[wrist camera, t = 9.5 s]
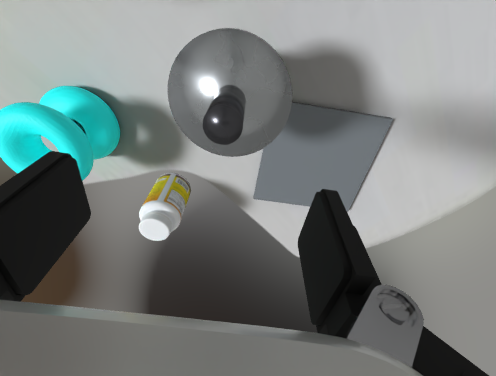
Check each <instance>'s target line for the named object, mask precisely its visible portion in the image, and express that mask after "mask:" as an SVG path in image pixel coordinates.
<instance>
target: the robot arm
mask: <svg viewBox="0 0 496 376" xmlns="http://www.w3.org/2000/svg"><path fill="white" fill-rule="evenodd" d="M90 215H91V211H90V207H89V204H88V200H87V196H86V193H85V189H84V186H83V182H82V179H81V175H80V171H79V168H78V164H77V161H76V159H75V158H72V156H71V155H70V154H68V153H62V152H55V151H50V152H48V153H47V154H45V155H44V156H42V157H41V158H40V159H38V160H37V161H35V162H34V163H32V164H31V165H29V166H28V167H27V168H25V169H24V170H22V171H21V172H19V173H18V174H17V175H15V176H14V177H12V178H11V179H9V180H8V181H7V182H5V183H4V184H2V185H1V186H0V376H489V375H487V374H486V373H485V372H483V371H482V370H481V369H479V368H478V367H477V366H475V365H474V364H473V363H471V362H470V361H469V360H467V359H466V358H465V357H463V356H462V355H461V354H459V353H458V352H457V351H456V350H454V349H453V348H452V347H450V346H449V345H448V344H446V343H445V342H444V341H442V340H441V339H440V338H438V337H437V336H436V335H434V334H433V333H432V332H431V331H429V330H428V329H426V328H425V327H424V326H423V323H424V322H423V321H424V319H423V315H422V312H421V310H420V309H419V307H418V305H417V304H416V303H415V302H414V301H413V299H412V298H411V297H410V296H408V295H407V294H406V293H404V292H403V291H401V290H400V289H398V288H396V287H393V286H390V285H382V284H381V282H380V280H379V278H378V276H377V273H376V271H375V269H374V267H373V265H372V263H371V260H370V258H369V256H368V254H367V252H366V249H365V247H364V245H363V242H362V240H361V238H360V236H359V234H358V231H357V229H356V228H355V227H354V226H353V225H352V222H351V220H350V218H349V216H348V213H347V211H346V209H345V207H344V204H343V202H342V200H341V198H340V195H339V193H338V192H337V191H335V190H328V189H322V190H321V191H320V192H316V194H315V196H314V199H313V201H312V204H311V207H310V209H309V212H308V214H307V217H306V220H305V222H304V225H303V228H302V230H301V233H300V236H299V238H298V249H299V255H300V260H301V266H302V272H303V278H304V283H305V289H306V295H307V301H308V306H309V311H310V317H311V322H312V324H313V325H316V327H317V332H318V333H313V332H304V331H296V330H288V329H280V328H272V327H264V326H255V325H245V324H236V323H226V322H217V321H208V320H198V319H189V318H179V317H170V316H159V315H150V314H140V313H130V312H120V311H111V310H100V309H91V308H81V307H70V306H60V305H50V304H38V303H29V302H21V300H22V299H23V298H24V296H25V295H28V294H30V293H32V291H33V290H34V289H35V288H36V287H37V285H38V284H39V283H40V282H41V280H42V279H43V278H44V276H45V275H46V274H47V273H48V271H49V270H50V269H51V268H52V266H53V265H54V264H55V262H56V261H57V260H58V259H59V257H60V256H61V255H62V254H63V252H64V251H65V250H66V248H67V247H68V246H69V245H70V243H71V242H72V241H73V240H74V238H75V237H76V236H77V234H78V233H79V232H80V230H81V229H82V228H83V227H84V226H85V224H86V223H87V222H88V220H89V219H90Z"/></svg>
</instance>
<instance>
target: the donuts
mask: <svg viewBox="0 0 496 376" xmlns="http://www.w3.org/2000/svg"><path fill="white" fill-rule="evenodd" d="M71 119H74V120H76V121H77V122H79V123H80V124H81V125H82V126H83V128H84V129H85V132H86V135H85V133H84V132H83V131H82V129H81V128H80V127H79V126H78V125H77V124H76V123H75V122H74V121H73V120H71ZM41 135H42V136H44V137H46V138H47V139H49V140H50V141H51V142H52V143H53V144H54V145H55V146H56V147H57V149H58V150H59V152H62V153H68V154H70V155H71V156H72V158H75V159H76V161H77V164H78V168H79V171H80V175H81V179H82V181H83V180H84V179H85V178H86V177H87V176H88V175H89V173H90V171H91V169H92V166H93V160H94V159H100V158H103V157H105V156H107V155H109V154H111V153H112V152H113V151H114V150H115V148H116V147H117V145H118V142H119V139H120V128H119V124H118V121H117V118H116V116H115V114H114V113H113V111H112V110H111V108H110V107H109V106H108V105H107V104H106V103H105V102H104V101H103V100H102V99H101V98H99V97H98V96H97V95H95V94H93V93H91V92H89V91H87V90H85V89H82V88H79V87H74V86H60V87H56V88H53V89H51V90H50V91H48V92H47V93H46V94H45V95H44V96H43V97H42V98H41V100H40V103H39V104H37V103H30V102H22V103H15V104H11V105H8V106H6V107H4V108H2V109H1V110H0V157H1V158H2V159H3V161H4V162H5V163H6V164H7V165H8V166H9V167H10V168H12V169H13V170H14V171H15V172H17V173H19V172H21V171H22V170H24V169H25V168H27V167H28V166H29V165H31V164H32V163H34V162H35V161H37V160H38V159H40V158H41V157H42V156H44V155H45V154H47V153H48V152H50V151H51V150H50V149H48V148H47V147H46V146H45V145H44V143H43V142H42V140H41Z"/></svg>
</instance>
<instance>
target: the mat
mask: <svg viewBox="0 0 496 376" xmlns="http://www.w3.org/2000/svg"><path fill="white" fill-rule="evenodd" d="M392 121H393V119H392V118H388V117H382V116H376V115H369V114H363V113H357V112H351V111H345V110H338V109H332V108H326V107H320V106H313V105H307V104H301V103H295V102H292V105H291V111H290V114H289V117H288V120H287V122H286V124H285V126H284V128H283V129H282V131H281V132H280V134H279V135H278V136H277V137H276V138H275V139H274V140H273V141H272V142H271V143H270V144H269V145H267V146H266V147H264V148H263V153H262V158H261V163H260V168H259V173H258V178H257V183H256V188H255V193H254V199H258V200H266V201H273V202H281V203H288V204H295V205H303V206H310V207H311V204H312V201H313V199H314V196H315V194H316V192H320V191H321V190H322V189H328V190H335V191H337V192H338V193H339V195H340V198H341V200H342V202H343V204H344V207H345V209H346V211H347V212H348V211H349V209H350V207H351V204H352V202H353V200H354V198H355V196H356V194H357V192H358V190H359V188H360V186H361V184H362V182H363V180H364V178H365V176H366V174H367V172H368V170H369V168H370V166H371V164H372V162H373V160H374V158H375V155H376V153H377V151H378V149H379V147H380V145H381V143H382V141H383V139H384V137H385V135H386V133H387V131H388V129H389V127H390V125H391V123H392Z"/></svg>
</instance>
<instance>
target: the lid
mask: <svg viewBox="0 0 496 376" xmlns="http://www.w3.org/2000/svg"><path fill="white" fill-rule="evenodd" d="M168 99H169V104H170V109H171V111H172V114H173V117H174V119H175V121H176V123H177V124H178V126H179V127H180V129H181V130H182V132H183V133H184V134H185V135H186V136H187V137H188V138H189V139H190V140H191V141H192V142H193V143H195V144H196V145H198V146H199V147H201V148H203V149H204V150H206V151H209V152H211V153H214V154H217V155H222V156H231V157H234V156H244V155H248V154H252V153H254V152H257V151H259V150H261V149H263V148H264V147H266V146H267V145H269V144H270V143H271V142H272V141H273V140H274V139H275V138H276V137H277V136H278V135H279V134H280V132H281V131H282V129H283V128H284V126H285V124H286V122H287V120H288V117H289V114H290V111H291V105H292V86H291V81H290V77H289V74H288V71H287V68H286V66H285V65H284V63H283V61H282V59H281V57H280V56H279V55H278V53H277V52H276V51H275V50H274V49H273V48H272V46H271V45H270V44H268V43H267V42H266V41H265V40H263V39H262V38H260V37H258V36H257V35H255V34H253V33H250V32H248V31H245V30H240V29H234V28H222V29H216V30H212V31H209V32H206V33H204V34H201V35H199V36H198V37H196V38H194V39H193V40H192V41H190V42H189V43H188V44H187V45H186V46H185V47H184V48H183V49H182V50H181V51H180V53H179V54H178V56H177V57H176V59H175V61H174V63H173V65H172V68H171V71H170V75H169V80H168Z"/></svg>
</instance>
